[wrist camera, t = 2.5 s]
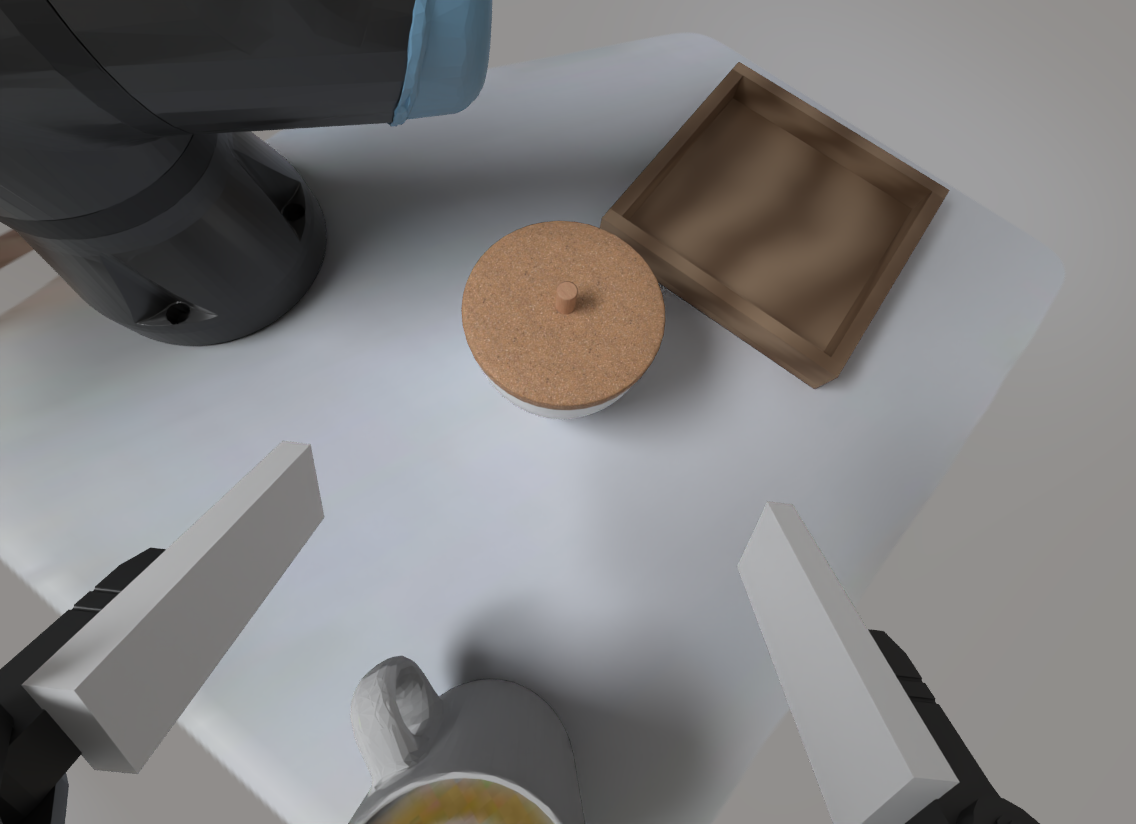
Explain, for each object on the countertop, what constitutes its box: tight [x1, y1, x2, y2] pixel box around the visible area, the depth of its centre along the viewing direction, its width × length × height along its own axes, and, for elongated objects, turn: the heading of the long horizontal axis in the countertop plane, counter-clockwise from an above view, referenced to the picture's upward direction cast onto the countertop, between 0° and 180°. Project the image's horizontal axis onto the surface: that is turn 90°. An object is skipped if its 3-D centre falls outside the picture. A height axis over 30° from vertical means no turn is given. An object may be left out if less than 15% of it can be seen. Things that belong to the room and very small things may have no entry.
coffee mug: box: [348, 656, 585, 824], centre depth 20 cm, size 13×10×10 cm
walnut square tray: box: [600, 62, 949, 389], centre depth 33 cm, size 19×19×2 cm
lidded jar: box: [462, 221, 665, 419], centre depth 26 cm, size 11×11×9 cm
